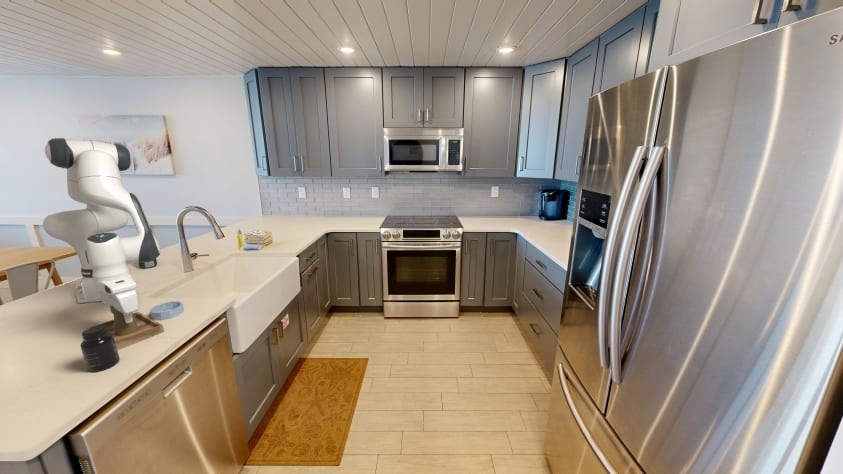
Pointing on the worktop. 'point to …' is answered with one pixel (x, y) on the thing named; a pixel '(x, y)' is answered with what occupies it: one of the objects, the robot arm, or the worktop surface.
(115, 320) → the cork
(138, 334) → the tray
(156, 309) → the light blue shallow dish
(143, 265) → the coffee jar
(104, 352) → the supplement bottle
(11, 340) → the worktop surface
